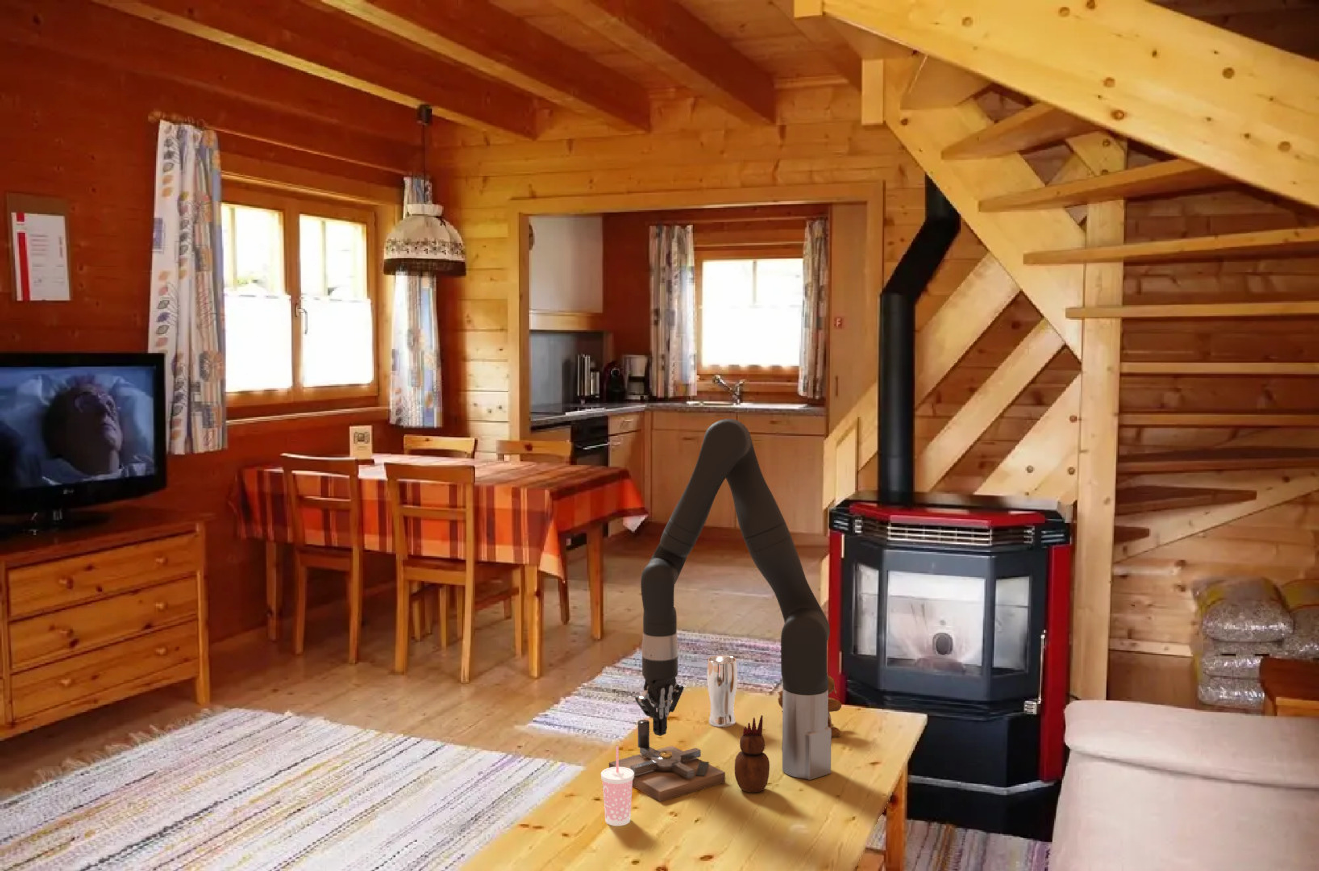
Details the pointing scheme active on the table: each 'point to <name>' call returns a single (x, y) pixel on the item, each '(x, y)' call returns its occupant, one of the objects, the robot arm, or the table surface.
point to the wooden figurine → (752, 760)
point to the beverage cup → (617, 793)
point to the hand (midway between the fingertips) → (660, 734)
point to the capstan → (662, 756)
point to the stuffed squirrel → (832, 706)
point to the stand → (672, 777)
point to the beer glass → (722, 689)
